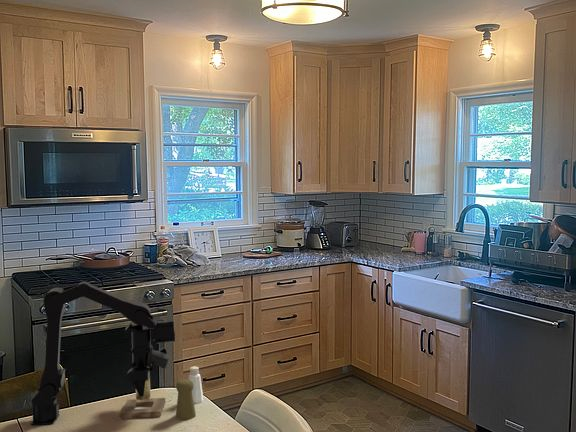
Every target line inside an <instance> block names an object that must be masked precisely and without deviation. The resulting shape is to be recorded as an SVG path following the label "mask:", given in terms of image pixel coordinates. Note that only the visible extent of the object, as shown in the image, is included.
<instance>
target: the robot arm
mask: <svg viewBox="0 0 576 432" xmlns="http://www.w3.org/2000/svg"><path fill="white" fill-rule="evenodd" d="M80 298H85V299H88V300H91V301H93V302H95V303H97V304H100V305H102V306H105V307H107V308H108V309H112V310H113V311H116V312H119V313H120V314H121V315H122V316H123V317H124V318H126V319H127V320H129V321H130V322H129V324H128V325H127V326H125V330H124V332H125V333H130V332H131V349H130V354H131V355H132V361H131V363H130V365H131V368H130V369H128V371H127V374H126V382H131V383H132V384H133V386H134V389H135V391H136V390H137V392H138V394H139V396H140V397H143V396H144V390H145V383H146V380H148V379H149V377H150V378H151V374H150V373H151V372H152V371H153V369H154V368H155V366H158V367H160V368H162V369H166V368H167V366H168V363H169V361H170V357H171V355H170V353H168V349H167V348H165V347H161V349H160V350H154V346H153V345H152V341H154V342H156V344H169V343H175V342H176V333H175V326H174V319H169V320H164V321H163V320H162V321H157V319H156V318H155V316H153V315H152V313H151V309H150V307H149V305H148V304H147V303H145V302H140V301H137V300H132V299H125V298H122V297H120V296H118V295H116V294H113V293H112V292H109V291H107V290H104V289H103V288H100V287H98V286H96V285H93V284H91V283H90V282H88V281H81V282H80V283H76V284H74V285H73V284H72V285H70V286H65V287H63V288H61V287H53V288H52V289H50V290H49V291H48V292H47V293H46V294H45V296H44V297H43V300H42V301H43V310H44V314H45V317H46V339H45V340H46V341H45V356H44V358H45V360H44V369H43V372H42V374H41V379H40V383H39V385H38V386H39V387H38V388H37V389H36V390H35V393H34V394H33V396H32V397H31V399H30V401H31V403H32V404H31V407H32V409H31V410H32V420H31V422H30V425H31V426H36V425H37V426H39V425H40V426H41V425H53V424H55V422H56V421H57V419H58V418H59V416H60V403H59V402H58V398H57V397H56V396H57V395H59V393H60V390H61V389H63V387H64V385H65V382H66V379H65V373H66V368H61V364H60V358H61V357H60V356H61V355H60V353H61V339H62V337H61V335H62V321H63V316H64V312H65V308H66V305H67V304H68V303H71V302H73V301H75V300H77V299H80ZM151 333H152V337H151Z"/></svg>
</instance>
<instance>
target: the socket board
mask: <svg viewBox="0 0 576 432" xmlns="http://www.w3.org/2000/svg"><path fill="white" fill-rule="evenodd" d="M165 405H166V397H156V398H152V397H150V398H149V399H146V400H137V399H136V398H134V399H127V400H126V401H125V404H124V405H123V407H122V409H121V412H120V419H121V418H122V419H136V418H135V417H142V418H157V417H159V418H160V416H161V417H162V415H163V411H164V409H163V408H165Z"/></svg>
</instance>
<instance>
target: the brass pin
mask: <svg viewBox="0 0 576 432" xmlns="http://www.w3.org/2000/svg"><path fill="white" fill-rule="evenodd" d="M135 399H137V400H146V399H151V376H150V377H149V379H148V380H146V383H145V390H144V396H143V397H140V396H139V394H138V392H137V390H136V389H135Z"/></svg>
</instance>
